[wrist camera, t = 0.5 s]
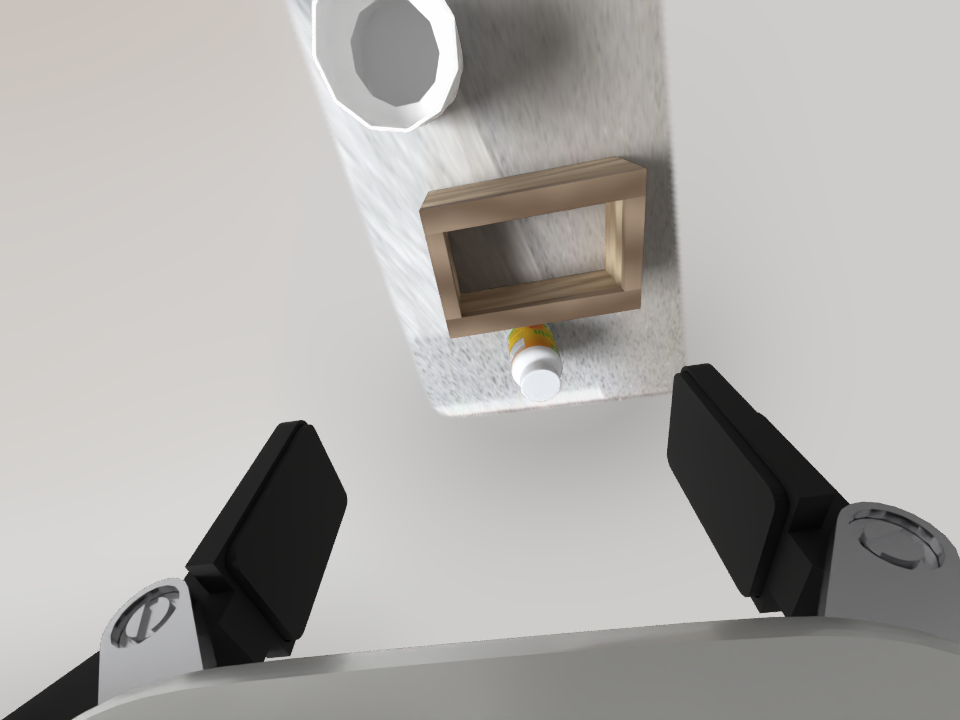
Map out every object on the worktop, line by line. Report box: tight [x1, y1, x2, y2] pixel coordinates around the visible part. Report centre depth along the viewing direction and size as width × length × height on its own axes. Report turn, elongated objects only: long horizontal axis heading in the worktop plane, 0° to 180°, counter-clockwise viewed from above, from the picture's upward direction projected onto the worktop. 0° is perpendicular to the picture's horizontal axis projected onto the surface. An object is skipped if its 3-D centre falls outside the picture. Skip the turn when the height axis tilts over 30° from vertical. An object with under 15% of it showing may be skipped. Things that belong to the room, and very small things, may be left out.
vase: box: [312, 0, 463, 133], centre depth 29 cm, size 9×9×12 cm
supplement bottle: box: [508, 324, 563, 401], centre depth 44 cm, size 5×5×10 cm
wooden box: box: [419, 157, 647, 339], centre depth 38 cm, size 12×18×8 cm, turn 100°
